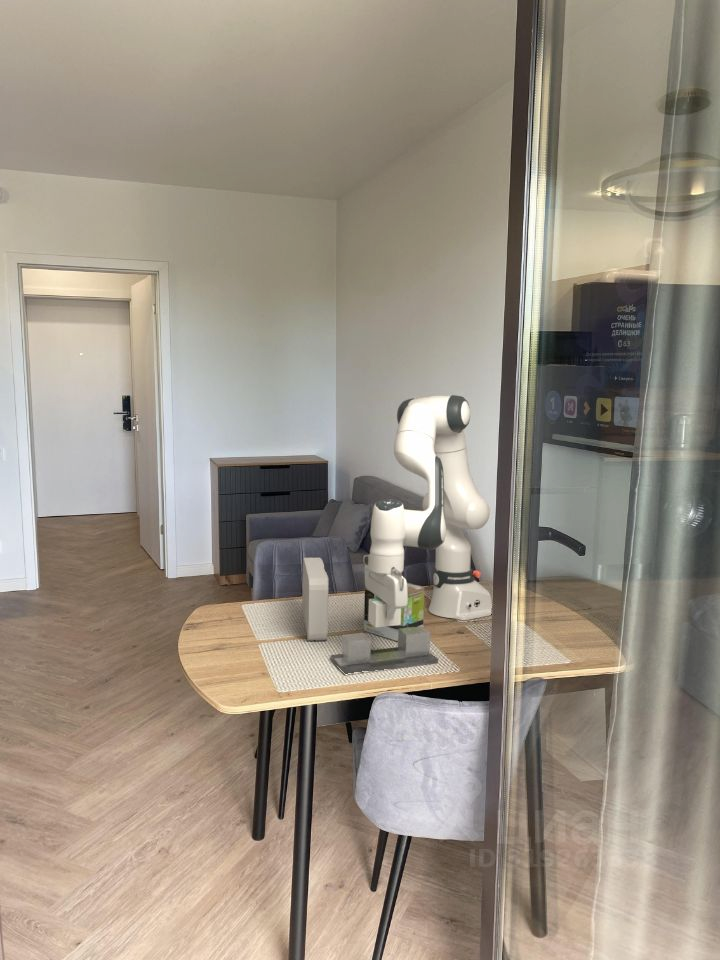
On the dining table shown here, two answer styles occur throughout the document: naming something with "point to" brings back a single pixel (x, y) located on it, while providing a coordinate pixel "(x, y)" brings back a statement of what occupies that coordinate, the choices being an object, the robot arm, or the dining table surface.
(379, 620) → the block
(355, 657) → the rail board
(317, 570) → the rounded white slab
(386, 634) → the tea box
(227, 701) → the dining table surface
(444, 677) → the dining table surface
